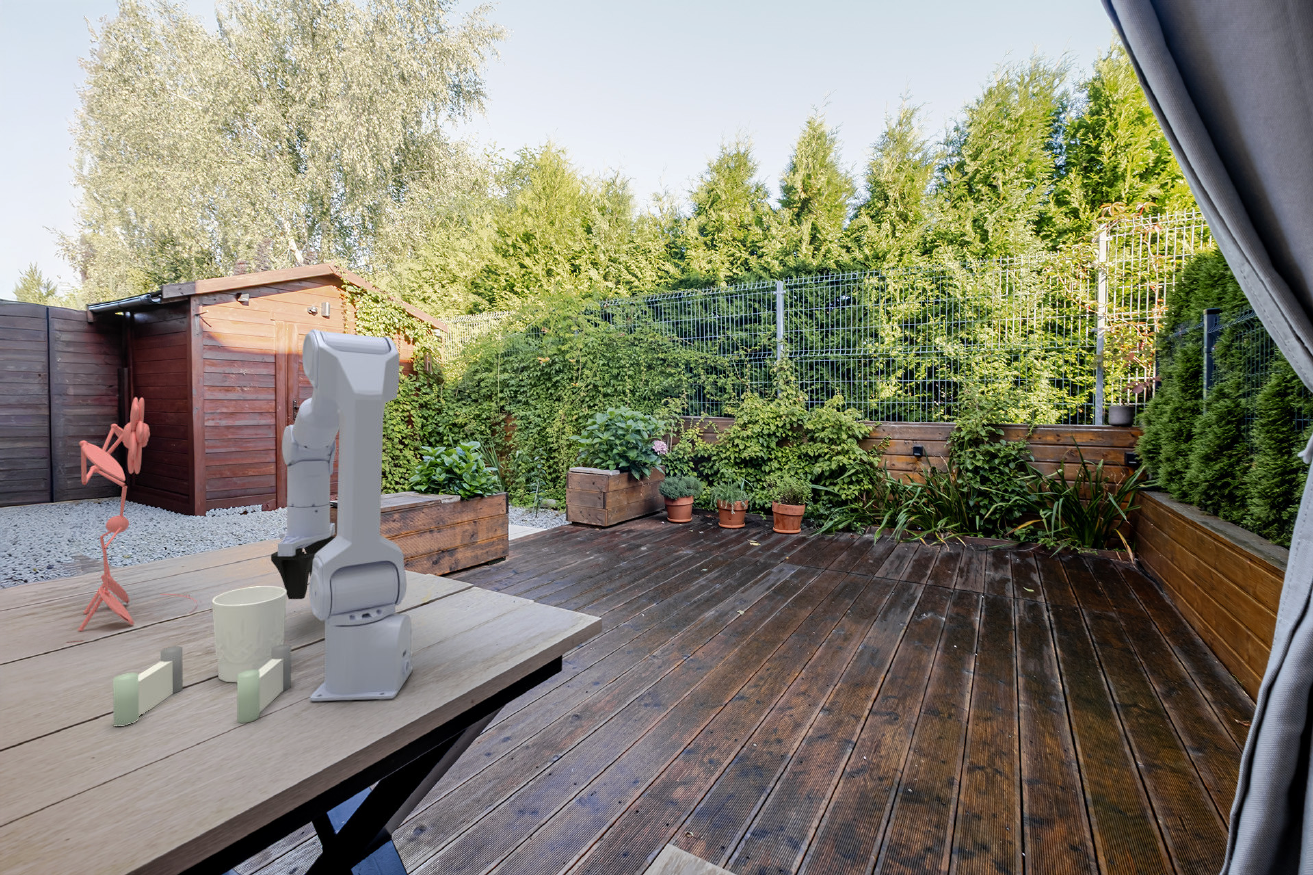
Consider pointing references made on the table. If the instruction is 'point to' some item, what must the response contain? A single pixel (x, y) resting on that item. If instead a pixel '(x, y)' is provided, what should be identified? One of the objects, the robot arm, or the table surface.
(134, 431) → the figurine
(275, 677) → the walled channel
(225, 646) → the white cup
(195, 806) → the table surface
